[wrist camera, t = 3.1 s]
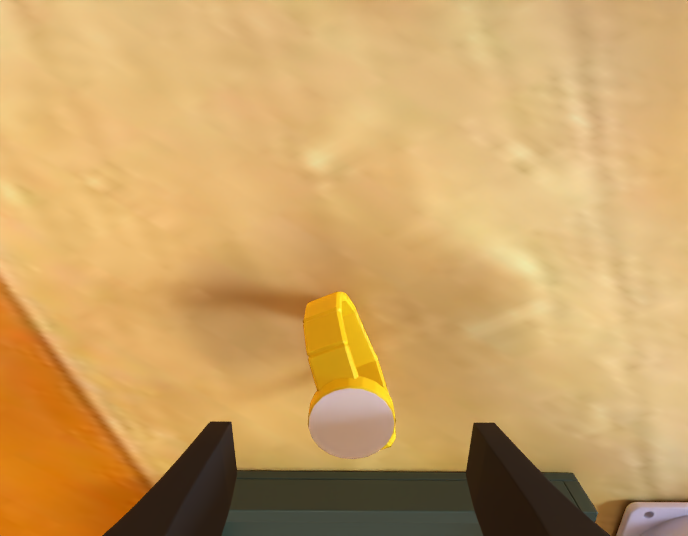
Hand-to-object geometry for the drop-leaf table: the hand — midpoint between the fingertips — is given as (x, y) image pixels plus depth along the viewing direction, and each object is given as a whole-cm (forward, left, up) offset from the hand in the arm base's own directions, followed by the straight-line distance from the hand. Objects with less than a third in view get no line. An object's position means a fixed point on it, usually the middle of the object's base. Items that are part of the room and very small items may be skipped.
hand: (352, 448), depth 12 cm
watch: (0, 0, -7) cm, 7 cm away
